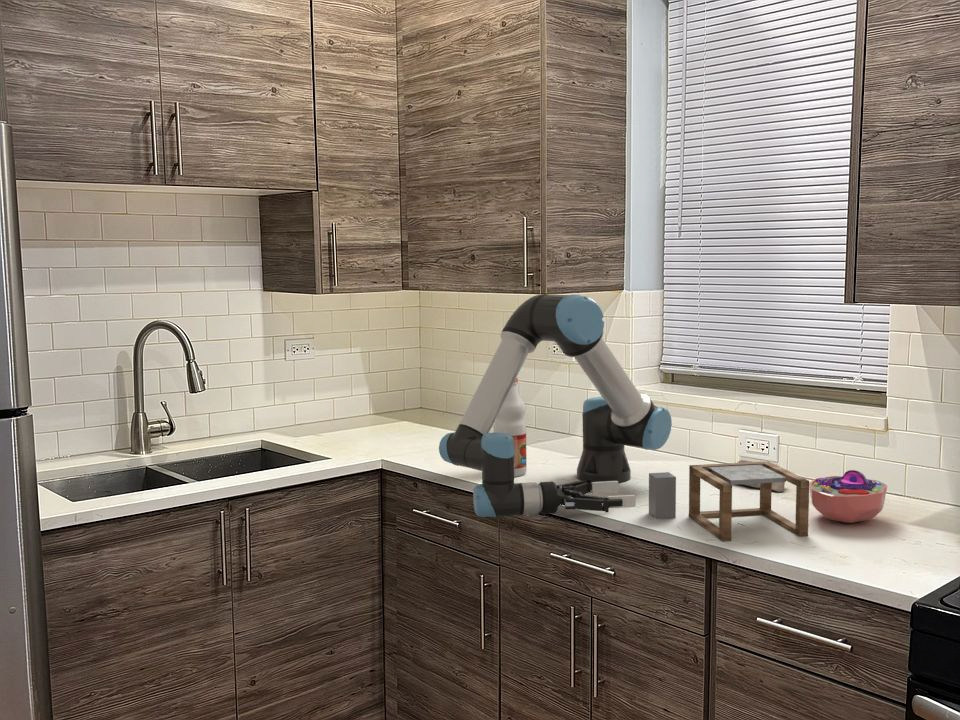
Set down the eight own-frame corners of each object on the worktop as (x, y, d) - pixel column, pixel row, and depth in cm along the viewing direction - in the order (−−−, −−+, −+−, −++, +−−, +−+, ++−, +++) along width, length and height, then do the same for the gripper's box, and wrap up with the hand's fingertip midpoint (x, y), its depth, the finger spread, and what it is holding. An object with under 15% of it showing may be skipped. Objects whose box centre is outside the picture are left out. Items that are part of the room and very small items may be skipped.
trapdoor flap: (704, 471, 220) (704, 467, 220) (761, 468, 223) (762, 464, 222) (728, 484, 207) (728, 480, 207) (788, 481, 209) (788, 477, 209)
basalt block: (648, 513, 227) (648, 473, 226) (668, 512, 228) (668, 472, 227) (655, 519, 222) (655, 478, 221) (675, 517, 223) (675, 476, 222)
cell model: (790, 519, 220) (791, 472, 219) (837, 505, 232) (839, 460, 231) (856, 536, 206) (857, 486, 205) (903, 519, 218) (905, 472, 217)
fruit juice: (490, 471, 274) (489, 376, 270) (522, 469, 275) (521, 375, 272) (498, 478, 264) (497, 380, 261) (530, 476, 266) (529, 379, 263)
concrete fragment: (777, 495, 243) (777, 469, 242) (724, 484, 255) (724, 459, 254) (792, 489, 248) (793, 464, 247) (740, 479, 260) (741, 455, 259)
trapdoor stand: (688, 516, 224) (689, 465, 222) (767, 511, 227) (768, 461, 225) (722, 541, 204) (723, 485, 203) (808, 535, 207) (809, 480, 206)
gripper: (528, 500, 232) (611, 495, 235) (551, 528, 208) (642, 523, 211) (528, 470, 232) (611, 466, 235) (550, 496, 207) (642, 491, 210)
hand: (626, 493), depth 223 cm, fingers open, 13 cm apart
